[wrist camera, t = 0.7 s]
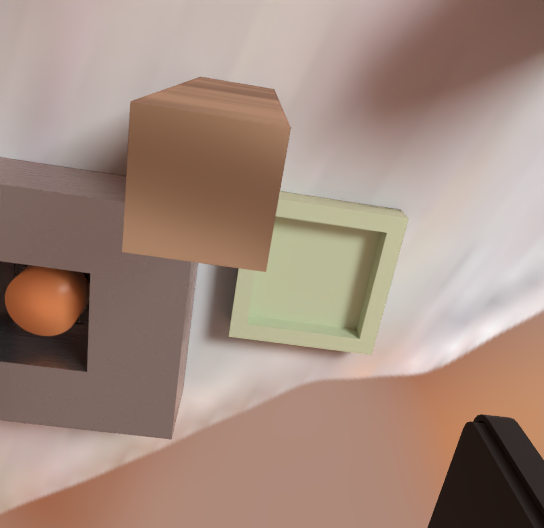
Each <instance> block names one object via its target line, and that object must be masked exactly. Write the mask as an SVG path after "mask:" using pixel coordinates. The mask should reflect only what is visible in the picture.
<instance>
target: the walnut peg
mask: <svg viewBox="0 0 544 528" xmlns="http://www.w3.org/2000/svg"><path fill="white" fill-rule="evenodd" d="M290 129H291V127H290V125H289V123H288V120H287V118H286V116H285V113H284V111H283V109H282V106H281V104H280V102H279V99H278V97H277V95H276V93H275V90H274V89H269V88H263V87H257V86H251V85H246V84H240V83H234V82H228V81H222V80H216V79H210V78H204V77H199V78H196V79H193V80H190V81H187V82H184V83H182V84H179V85H176V86H173V87H170V88H167V89H165V90H162V91H159V92H156V93H153V94H150V95H148V96H145V97H142V98H139V99H136V100H134V101H131V103H130V121H129V138H128V156H127V174H126V192H125V210H124V228H123V245H122V252H126V253H133V254H140V255H147V256H154V257H161V258H169V259H176V260H183V261H190V262H197V263H204V264H211V265H219V266H226V267H233V268H240V269H247V270H254V271H261V272H266V270H267V264H268V258H269V252H270V246H271V240H272V234H273V229H274V223H275V217H276V211H277V205H278V199H279V193H280V188H281V182H282V176H283V170H284V164H285V158H286V152H287V146H288V141H289V135H290Z"/></svg>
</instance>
